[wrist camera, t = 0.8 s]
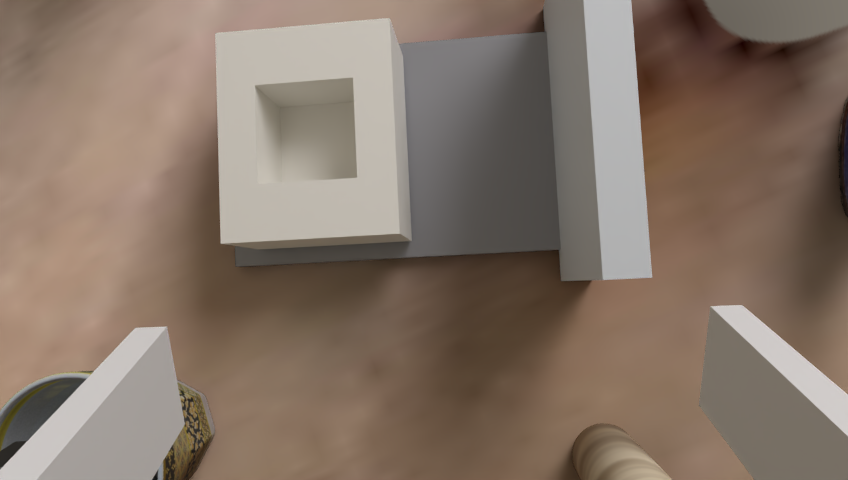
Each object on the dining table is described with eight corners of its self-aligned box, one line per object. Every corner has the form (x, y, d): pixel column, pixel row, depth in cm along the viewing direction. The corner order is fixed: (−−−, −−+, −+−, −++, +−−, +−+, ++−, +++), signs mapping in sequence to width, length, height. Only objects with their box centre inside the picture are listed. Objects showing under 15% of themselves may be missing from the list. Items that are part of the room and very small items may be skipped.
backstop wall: (592, 279, 40) (652, 277, 26) (242, 296, 42) (123, 303, 28) (574, 5, 41) (620, -136, 27) (234, 34, 43) (118, -83, 29)
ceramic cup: (214, 332, 42) (132, 347, 32) (258, 478, 41) (187, 540, 31) (39, 391, 43) (-95, 423, 33) (77, 536, 42) (-48, 614, 32)
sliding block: (411, 241, 40) (399, 233, 34) (258, 249, 41) (220, 243, 35) (403, 56, 41) (389, 18, 35) (253, 68, 42) (215, 33, 36)
